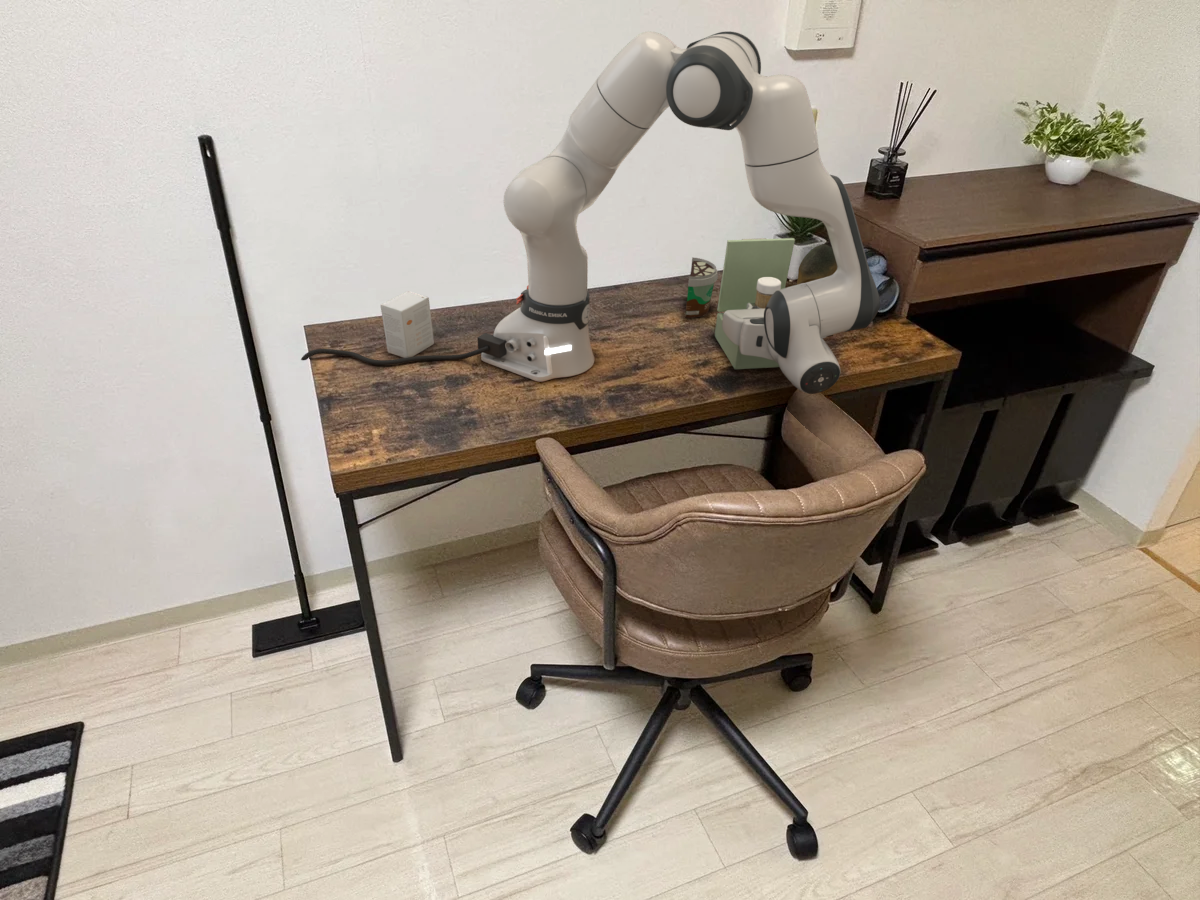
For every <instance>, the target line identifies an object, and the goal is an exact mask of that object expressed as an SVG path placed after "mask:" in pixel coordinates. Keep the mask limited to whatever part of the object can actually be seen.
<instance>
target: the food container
mask: <svg viewBox="0 0 1200 900" xmlns="http://www.w3.org/2000/svg"><path fill="white" fill-rule="evenodd" d="M718 279H719V273H718V269H717V265H716V264H714V262H711V261H709V260H707V259H704V258H701V257H691V267H690V274H689V276H688V281H687V282H688V284H687V293H686V305H685V315H684V316H685V318H687V319H694V318H695V319H696V318H702V317H704V316H706V315H708V313H709V311H710V307H711V301H712V295H713V291H714V286H715V283H716V282H717V281H718Z"/></svg>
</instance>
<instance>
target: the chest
mask: <svg viewBox="0 0 1200 900" xmlns="http://www.w3.org/2000/svg"><path fill="white" fill-rule="evenodd" d="M723 314H724V312H718V313H716V323H715V329H714V338H715V339H716V341H717V342H718V344H719V345H720V348H721V349H722V351H723V353H724V354H725V356H726V357H727V359H728V361H729V363H730V364H731V366H732V368H733V369H734V370H748V369H767V368H780V367H779V364H778V363H776V362H775V361H774V360H769V359H766V358H762V357H757V356H749V355H743V354H741V353H740V351H739V346H738V345H736V344H734V343H733V342H732V341H731V340H730V339H729V338H728V337H727V335H726V334H725V333H724V331H723V329H722V319H723Z"/></svg>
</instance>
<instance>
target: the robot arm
mask: <svg viewBox="0 0 1200 900" xmlns="http://www.w3.org/2000/svg"><path fill="white" fill-rule="evenodd" d="M761 60H762V59H761V56H760V53H759V50H758V48H757V46H756V45H755V43H754V42H753V41H752V39H750V38H748V37H747V36H746V35H744V34H742V33H739V32H735V31H719V32H717V33H713V34H711V35H709V36H706V37H703V38H701V39H698V40H695V41H693V42H691V43H689V44H688V45H687V47H686V48H681V47H679V46H677V44H675V43H674V42H673V41H672V40H671V39H670V38H668V37H667V36H666V35H664V34H662V33H659V32H656V31H649V30H648V31H643V32H641V33H639V34H637V35H636V36H635V37H634V38H633V39H631V40H630V41H629V42H628V43H627V44H626V45H625V46H624V47H623V48H621V50H620V51H619V52H618V53H617V54H616V55H615V56H614V57H613V58H612V59H611V61H609V63H608V64H607V66H605V68H603V70H602V72H601V73H600V75H599V76H598V77H597V78H596V80H595V81H594V82H593V84H592V85H591V86H590V88H589V89H588V91H587V92H586V93H585V94H584V96H583V98H582V99H581V100H580V102H578V104H577V106H576V107H575V109H574V110H573V111H572V112H571V114H570V115H569V118H568V122H567V124H568V125H567V127H566V128H565V130H564V133H563V135H562V137H561V139H560V141H559V142H558V143H557V144H556V146H555V147H554V149H553V150H552V151H551V152H550V153H549V154H547V155H546V156H544V157H542V158H541V159H540V160H538V161H536V162H534V163H532V164H530V165H528V166H526V167H524V168H523V169H521V170H520V171H519V172H518V173H517V175H515V177H514V178H512V180H511V181H510V183H509V184H508V185H507V187H506V189H505V191H504V194H503V200H502V201H503V209H504V213H505V215H506V218H507V219H508V221H509V222H510V224H511V225H512V226H513V227H514V228H515V229H516V230H518V231H519V234H520V236H521V238H522V239H521V240H522V242H523V246H524V249H525V254H526V255H525V256H526V265H527V286H526V289H524V290H523V291H521V292H520V295H519V296H518V297H516V299H515V300H516V303H515V304H516V305H519V304H520V306H519V307H518V308H516V309H515V310H514V311H513V310H512V312H510V313H509V314H507V315H506V316H505V317H503V318H502V319H501V320H500V321H499V322H498V323H497V325H496V327H495V328H494V331H493V334H491V333H487V332H484V333H483V334H480V335H479V336H478V337H477V339H476V340H477V349H475V350H472V351H469V352H466V353H460V354H446V355H445V354H442V355H440V354H439V355H436V354H435V355H434V354H433V355H432V354H431V355H429V354H428V355H415V356H413V357H407V358H403V357H400V358H396V359H383V360H382V359H375V358H374V359H373V358H369V357H367V356H364V355H362V354H360V353H357V352H354V351H349V350H341V349H334V348H333V349H332V348H317V349H312V350H310V351H308V352H306V353H305V354H304V355H303V356H302V357H301V359H300V361H307V360H308V359H310V358H311V357H313V356H316V355H335V356H345V357H351V358H354V359H356V360H359V361H362V362H364V363H366V364H370V365H374V366H394V365H402V364H406V363H414V362H422V361H423V362H425V361H459V360H465V359H468V358H471V357H474V356H478V355H480V359H481V361H482V362H483V363H486V364H489V365H491V366H494V367H497V368H500V369H503V370H505V371H507V372H510V373H514V374H516V375H519V376H521V377H524V378H527V379H530V380H532V381H535V382H539V383H540V382H541V383H542V382H547V381H549V380H553V379H559V378H568V377H574V376H577V375H580V374H583V373H585V372H587V371H588V370H590V369H591V368H592V367H593V366H594V364H595V356H594V352H593V349H592V343H591V339H590V330H589V322H590V316H591V315H590V314H591V304H590V303H591V302H590V292H589V290H588V279H589V275H588V273H589V256H588V252H587V249H585V247H584V246H583V245H581V242H580V237H579V233H578V228H577V227H578V226H577V223H578V217H579V215H580V214H582V213H584V212H585V211H586V210H587V209H589V208H590V207H591V206H592V205H594V203H595V202H596V201H597V199H598V198H599V197H600V196H601V194H602V193H603V191H604V190H605V189H606V188H607V186H608V185H609V183H610V181H611V180H612V179H613V177H614V175H615V174H616V172H617V170H618V169H619V167H620V166H621V164H622V163H623V162H624V161H625V159H626V158H627V157H628V156H629V155H630V154H631V152H632V150H634V149H635V147H636V146H637V145H638V143H640V141H641V140H642V139H643V137H644V136H645V135H646V133H648V132H649V130H650V129H651V127H653V126H654V124H655V123H656V121H657V120H658V119H659V118H660V116H662V114H663V113H664V112H665V110H667V109H668V108H669V109H670V111H671V112H672V114H673V115H674V116H675V117H676V118H677V119H678V120H679V121H680V122H682V123H684V124H686V125H689V126H692V127H697V128H703V129H714V130H715V129H716V130H723V131H732V130H734V129H736V131H737V132H738V135H739V138H740V142H741V147H742V152H743V153H742V154H743V162H744V168H745V169H744V170H745V176H746V179H747V184H748V188H749V191H750V194H751V196H752V197H753V199H754V200H755V201H756V202H757V204H759V205H760V206H761V207H763V208H764V209H766V210H768V211H770V212H773V213H774V214H775V213H776V214H778V215H782V216H788V217H797V218H806V219H814V220H818V221H820V222H822V223H823V225H824V226H825V228H826V231H827V235H828V238H829V241H830V245H831V248H832V249H833V252H834V256H835V259H836V263H837V270H836V272H835V273H834V274H833V275H831V276H828V277H824V278H821V279H817V280H814V281H810V282H807V283H801V284H798V285H797V284H795V285H792V286H787V287H785V288H784V289H781V290H778V291H775V293H774V294H773V295H772V296H771V298H770V300H769V301H768V303H767V306H766V308H764V309H757V305H756V304H755V303H747V307H746V309H741V310H727V311H725V312H723V313H724V314H723V319H722V329H723V331H724V333H725V334H726V335H727V337H728V338H729V339H730V340H731V341H732V342H733V343H734V344H736V345H738V346H739V351H740V353H741V354H743V355H749V356H757V357H762V358H766V359H769V360H774V361H775V362H776V363H778V364H779V367H778V368H779V369H780V371H781V372H782V374H783V375H784V376H785V378H786V379H787V380H788V381H789V382H790V383H791V384H792V385H793V386H794V387H795V388H796V389H797V390H799V391H800V392H802V393H804V394H808V395H815V394H819V393H822V392H825V391H827V390H829V389H831V388H832V387H833V386H834V385H836V383H837V382H838V380H840V376H841V366H840V362H839V361H838V359H837V357H836V355H835V354H834V352H833V351H832V349H831V348H830V346H829V345H828V344H827V342H826V341H825V340H824V339H825V338H830V337H834V335H837V334H840V333H844V332H845V333H848V332H853V331H856V330H864V329H866V328H868V327H869V326H870V324H871V323H872V322H873V321H874V319H875V318H876V316H877V314H878V312H879V310H880V307H881V299H880V294H879V290H878V288H877V285H876V282H875V280H874V277H873V274H872V271H871V269H870V266H869V263H868V259H867V255H866V252H865V248H864V245H863V240H862V238H861V237H862V236H861V234H860V230H859V225H858V221H857V218H856V215H855V212H854V211H855V210H854V208H853V204H852V201H851V198H850V196H849V193H848V190H847V188H846V186H845V184H844V182H843V181H842V180H841V179H840V177H839V176H838V175H833V174H830V173H829V172H828V171H827V169H826V168H825V166H824V163H823V162H822V159H821V155H820V149H819V140H818V132H817V127H816V122H815V121H816V120H815V116H814V111H813V107H812V105H811V100H810V98H809V94H808V91H807V88H806V86H805V84H804V82H802V81H801V80H800V79H799V78H798V77H795V76H792V75H789V74H773V75H769V76H766V75H762V74H761V71H762V61H761Z"/></svg>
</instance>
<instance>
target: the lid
mask: <svg viewBox="0 0 1200 900" xmlns="http://www.w3.org/2000/svg"><path fill="white" fill-rule="evenodd" d="M795 241H796V239H795V238H794V237H787V238H786V237H785V238H766V237H764V238H763V237H762V238H742V239H727V241H726V248H725V254H724V260H723V267H722V275H721V282H720V289H719V296H718V301H717V312H718V313H724V312H725V311H727V310H741V309H746V307H747V303H755V301H756V294H757V289H756V288H757V281H758V279H760V278H762V277H773V278H776V279H778V280H780V281H781V289H784V288H786V286H787V281H788V275H789V271H790V267H791V266H790V265H791V262H792V255H793V251H794V246H795ZM781 289H780V290H781Z"/></svg>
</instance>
